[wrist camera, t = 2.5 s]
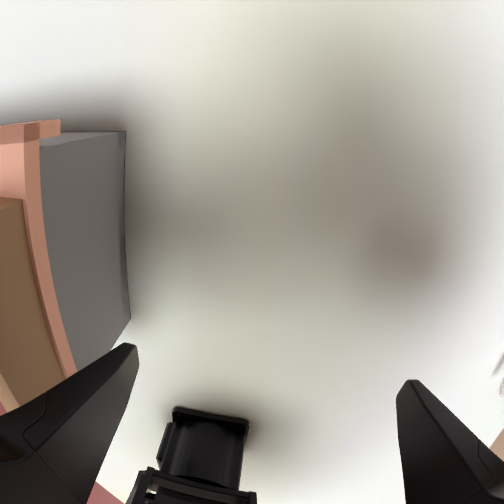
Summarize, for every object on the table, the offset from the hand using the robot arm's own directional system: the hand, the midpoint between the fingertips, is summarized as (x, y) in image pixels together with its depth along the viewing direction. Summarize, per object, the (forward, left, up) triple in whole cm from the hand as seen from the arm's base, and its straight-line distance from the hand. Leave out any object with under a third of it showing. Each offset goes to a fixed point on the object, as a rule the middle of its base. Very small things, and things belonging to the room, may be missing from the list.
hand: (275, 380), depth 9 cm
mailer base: (+17, 0, -8) cm, 19 cm away
